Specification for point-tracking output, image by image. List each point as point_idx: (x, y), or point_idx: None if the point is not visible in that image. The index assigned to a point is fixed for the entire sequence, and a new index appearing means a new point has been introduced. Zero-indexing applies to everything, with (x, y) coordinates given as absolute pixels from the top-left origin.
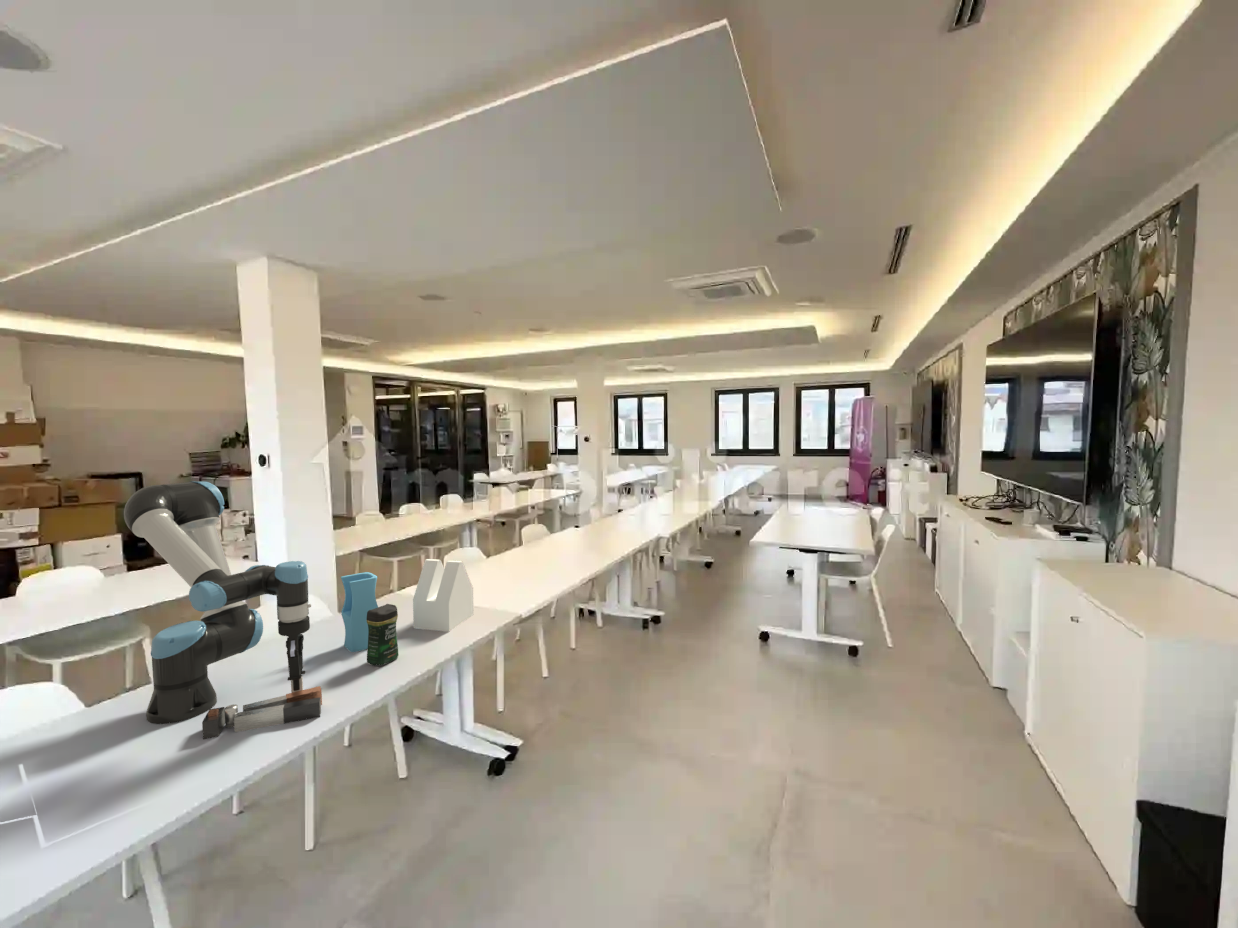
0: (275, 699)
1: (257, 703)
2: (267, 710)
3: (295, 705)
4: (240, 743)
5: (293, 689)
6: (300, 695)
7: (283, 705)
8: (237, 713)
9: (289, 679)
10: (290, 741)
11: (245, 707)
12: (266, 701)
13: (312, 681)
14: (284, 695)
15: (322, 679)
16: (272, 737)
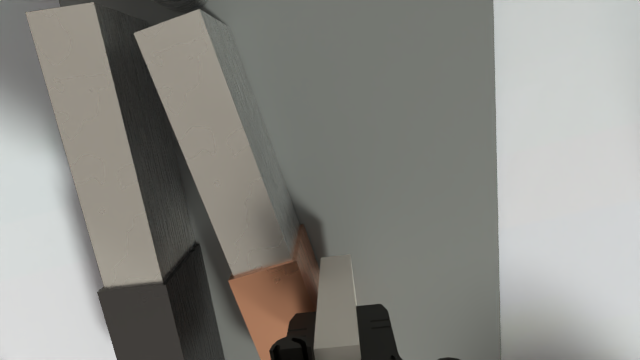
0: (241, 211)
1: (208, 108)
2: (100, 202)
3: (127, 347)
4: (6, 94)
5: (290, 321)
6: (257, 346)
7: (150, 278)
8: (84, 13)
9: (274, 357)
10: (3, 307)
11: (161, 41)
12: (223, 161)
13: (630, 270)
14: (288, 252)
15: (633, 315)
16: (45, 226)
